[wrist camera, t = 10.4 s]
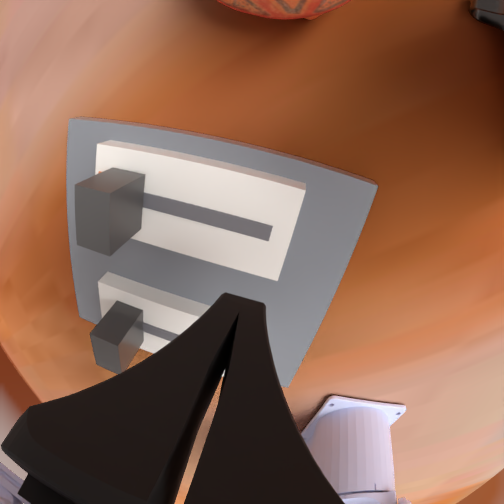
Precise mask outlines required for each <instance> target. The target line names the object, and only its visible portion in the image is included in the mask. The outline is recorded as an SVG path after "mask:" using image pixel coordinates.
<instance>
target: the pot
mask: <svg viewBox="0 0 504 504" xmlns="http://www.w3.org/2000/svg"><path fill="white" fill-rule="evenodd" d="M217 1H218V2H220V3H221V4H223V5H225V6H227V7H229V8H231V9H234V10H237V11H240V12H244V13H248V14H252V15H257V16H259V17H265V18H271V19H283V20H285V19H299V18H306V19H309V20H312V19H315V18H317V17H319V16H320V15H321V14H323V13H326V12H329V11H332V10H334V9H337V8H339V7H340V6H342V5H344V4H346V3H348V2H349V1H351V0H217Z"/></svg>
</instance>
